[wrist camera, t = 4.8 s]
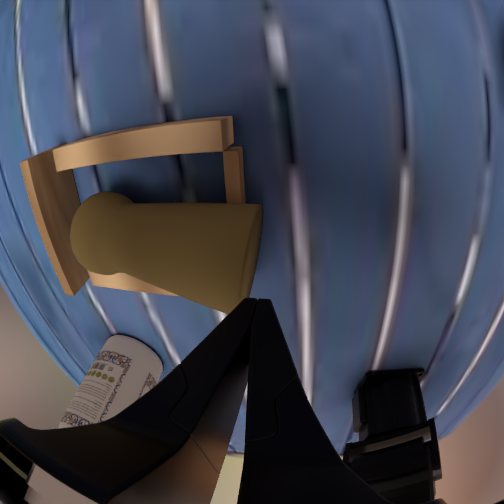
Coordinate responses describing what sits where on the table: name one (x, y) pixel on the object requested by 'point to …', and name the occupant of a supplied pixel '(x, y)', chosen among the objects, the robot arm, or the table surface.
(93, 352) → the table surface
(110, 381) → the bath foam
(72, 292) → the cradle
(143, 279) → the cork
